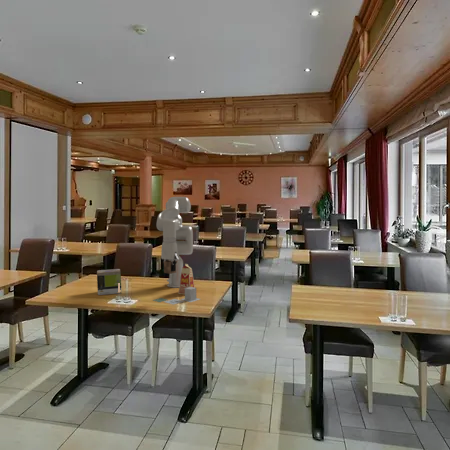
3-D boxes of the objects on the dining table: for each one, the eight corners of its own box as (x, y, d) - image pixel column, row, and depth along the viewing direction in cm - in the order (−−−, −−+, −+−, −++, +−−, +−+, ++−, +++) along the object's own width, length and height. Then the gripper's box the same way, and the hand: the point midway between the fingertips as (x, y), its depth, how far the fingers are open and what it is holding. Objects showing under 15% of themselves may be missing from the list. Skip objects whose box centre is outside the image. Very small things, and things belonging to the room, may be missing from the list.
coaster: (152, 300, 243) (152, 300, 243) (161, 298, 248) (161, 297, 248) (159, 302, 238) (159, 302, 238) (168, 300, 244) (168, 299, 244)
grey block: (184, 299, 244) (184, 288, 244) (190, 297, 248) (190, 286, 248) (190, 300, 241) (190, 289, 241) (196, 299, 245) (196, 288, 244)
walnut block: (164, 272, 239) (164, 261, 239) (170, 271, 243) (170, 260, 242) (169, 273, 236) (169, 262, 235) (176, 272, 240) (175, 260, 239)
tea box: (120, 290, 271) (120, 268, 269) (121, 293, 261) (121, 271, 260) (97, 291, 266) (96, 269, 265) (97, 295, 256) (96, 272, 255)
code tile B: (180, 300, 244) (180, 299, 244) (190, 297, 251) (190, 296, 251) (190, 302, 238) (190, 302, 238) (201, 299, 245) (201, 299, 245)
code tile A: (163, 302, 239) (163, 301, 239) (174, 299, 246) (174, 298, 246) (173, 305, 233) (173, 304, 233) (184, 301, 240) (184, 301, 240)
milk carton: (191, 295, 256) (191, 264, 254) (177, 294, 258) (177, 263, 256) (195, 291, 265) (195, 262, 263) (182, 291, 267) (181, 261, 265)
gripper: (155, 239, 240) (155, 269, 242) (174, 242, 230) (175, 273, 231) (164, 238, 246) (165, 267, 248) (184, 240, 235) (184, 271, 237)
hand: (170, 270), depth 239 cm, fingers closed on walnut block, 5 cm apart
